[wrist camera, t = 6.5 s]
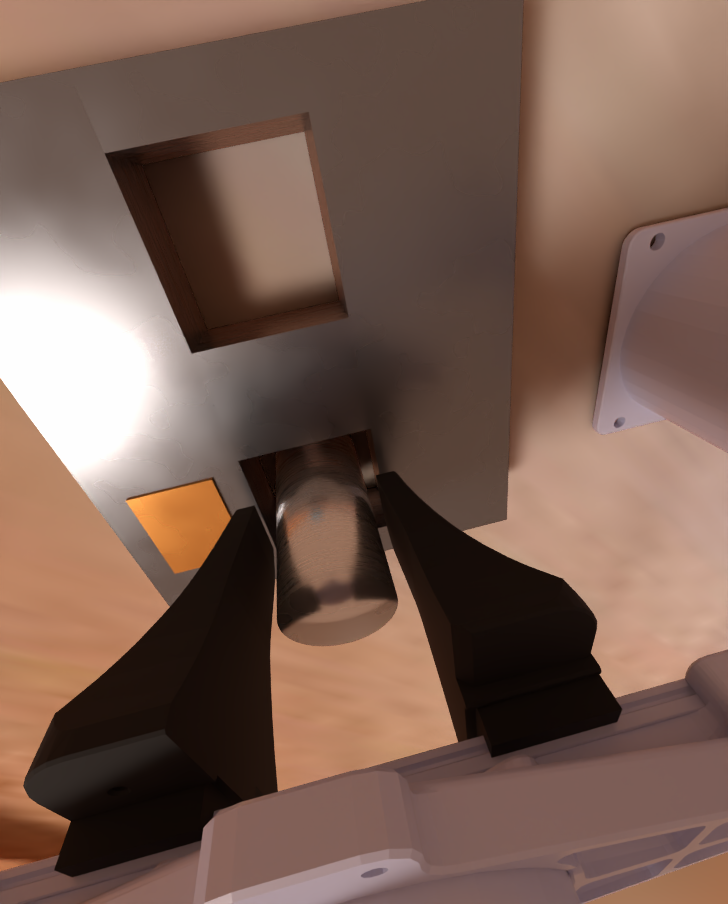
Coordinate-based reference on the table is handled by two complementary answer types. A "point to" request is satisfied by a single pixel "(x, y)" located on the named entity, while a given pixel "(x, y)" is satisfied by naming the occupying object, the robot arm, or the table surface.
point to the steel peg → (328, 547)
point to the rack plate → (286, 334)
